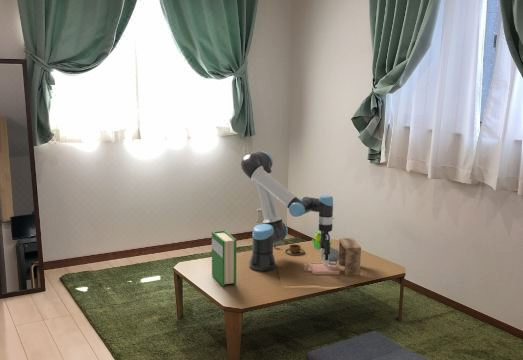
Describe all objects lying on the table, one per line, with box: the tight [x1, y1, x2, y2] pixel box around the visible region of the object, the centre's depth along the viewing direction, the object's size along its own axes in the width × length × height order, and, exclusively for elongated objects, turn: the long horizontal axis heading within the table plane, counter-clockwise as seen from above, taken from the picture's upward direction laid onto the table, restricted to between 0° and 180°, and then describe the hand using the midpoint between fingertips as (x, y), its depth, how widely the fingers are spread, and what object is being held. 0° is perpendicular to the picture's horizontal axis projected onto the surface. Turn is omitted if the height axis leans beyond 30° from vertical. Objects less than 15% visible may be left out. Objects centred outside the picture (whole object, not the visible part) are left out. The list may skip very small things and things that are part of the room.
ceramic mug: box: [322, 247, 339, 266], centre depth 287 cm, size 11×8×8 cm
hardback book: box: [211, 230, 237, 287], centre depth 270 cm, size 18×7×24 cm, turn 23°
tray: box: [303, 262, 341, 275], centre depth 288 cm, size 18×15×3 cm
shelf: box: [337, 237, 362, 276], centre depth 288 cm, size 8×18×16 cm, turn 4°
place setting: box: [273, 243, 306, 257], centre depth 320 cm, size 18×20×6 cm
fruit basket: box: [311, 232, 332, 251], centre depth 325 cm, size 11×9×11 cm
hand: (324, 262), depth 287 cm, fingers closed on ceramic mug, 9 cm apart
